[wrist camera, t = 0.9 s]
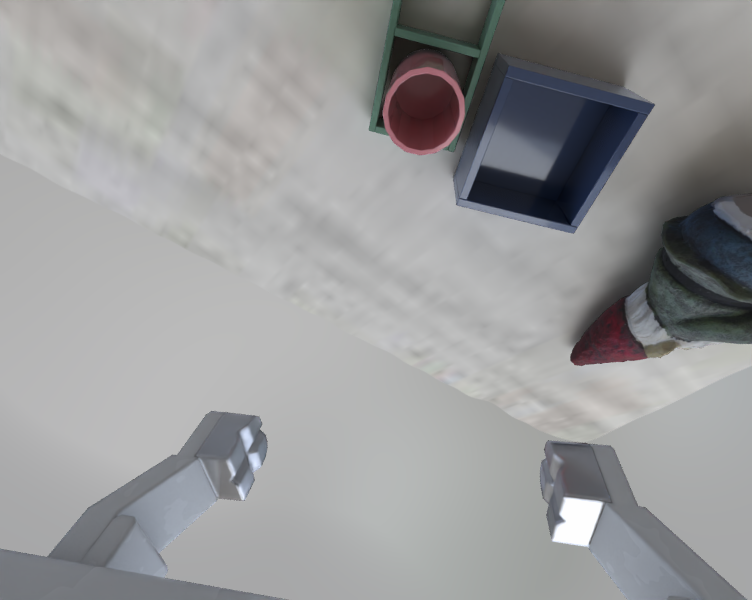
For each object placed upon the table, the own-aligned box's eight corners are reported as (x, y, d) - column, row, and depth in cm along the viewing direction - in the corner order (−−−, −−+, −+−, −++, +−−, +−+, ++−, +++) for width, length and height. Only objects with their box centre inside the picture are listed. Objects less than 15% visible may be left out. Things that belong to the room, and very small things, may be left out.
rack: (415, -105, 29) (414, -112, 27) (523, -74, 30) (532, -78, 27) (371, 121, 40) (368, 130, 37) (452, 142, 40) (453, 152, 38)
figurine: (594, 243, 62) (635, 330, 61) (518, 277, 56) (561, 374, 55) (866, 137, 35) (946, 291, 34) (773, 181, 29) (867, 370, 28)
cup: (400, 40, 35) (393, 57, 28) (467, 58, 35) (477, 79, 28) (385, 112, 39) (376, 144, 32) (445, 128, 39) (449, 162, 32)
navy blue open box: (497, 52, 35) (509, 65, 30) (624, 86, 35) (655, 104, 31) (452, 179, 43) (456, 205, 38) (557, 205, 43) (573, 234, 38)
